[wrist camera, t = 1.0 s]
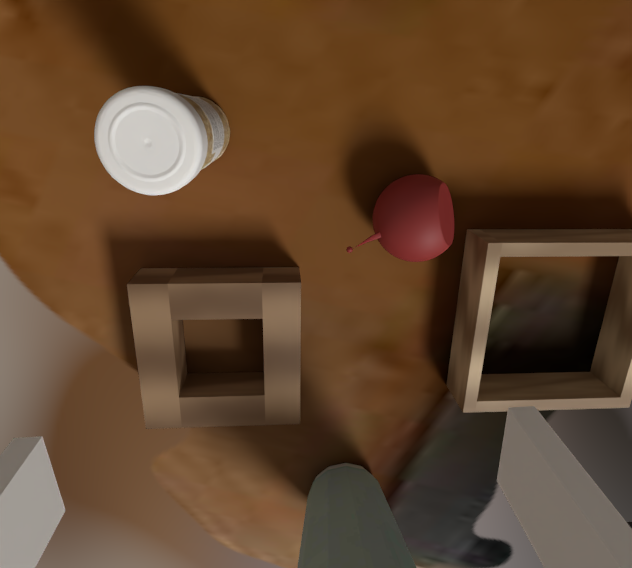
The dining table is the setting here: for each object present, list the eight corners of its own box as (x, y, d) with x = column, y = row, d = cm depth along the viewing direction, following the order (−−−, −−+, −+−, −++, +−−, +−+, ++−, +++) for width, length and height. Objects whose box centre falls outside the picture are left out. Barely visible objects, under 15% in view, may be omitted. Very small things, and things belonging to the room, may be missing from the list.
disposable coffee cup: (356, 543, 47) (389, 728, 33) (262, 505, 44) (254, 688, 30) (418, 469, 44) (482, 636, 30) (321, 423, 42) (342, 583, 28)
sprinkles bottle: (173, 168, 33) (108, 204, 20) (157, 99, 31) (75, 92, 19) (237, 159, 33) (211, 189, 21) (224, 90, 32) (188, 77, 19)
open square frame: (466, 229, 36) (488, 242, 32) (638, 229, 37) (678, 242, 33) (446, 384, 41) (462, 412, 37) (598, 381, 42) (629, 407, 38)
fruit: (374, 174, 36) (333, 205, 30) (448, 160, 33) (421, 191, 27) (390, 247, 38) (356, 290, 32) (461, 240, 36) (439, 286, 29)
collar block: (140, 268, 35) (126, 284, 32) (299, 267, 36) (301, 282, 33) (157, 402, 40) (145, 428, 36) (298, 398, 40) (300, 424, 37)
